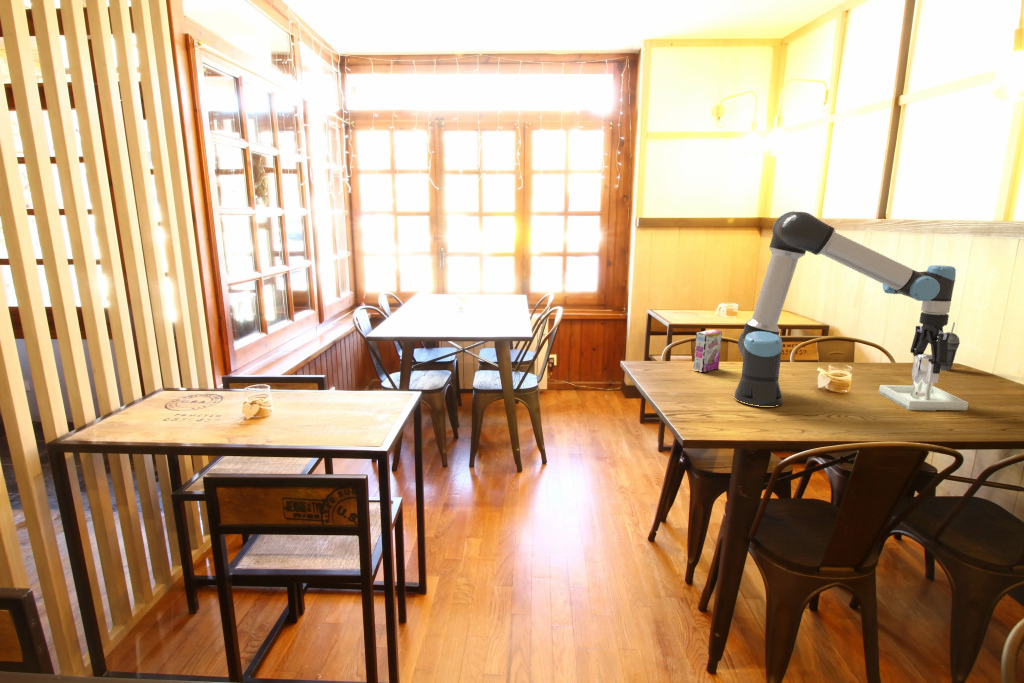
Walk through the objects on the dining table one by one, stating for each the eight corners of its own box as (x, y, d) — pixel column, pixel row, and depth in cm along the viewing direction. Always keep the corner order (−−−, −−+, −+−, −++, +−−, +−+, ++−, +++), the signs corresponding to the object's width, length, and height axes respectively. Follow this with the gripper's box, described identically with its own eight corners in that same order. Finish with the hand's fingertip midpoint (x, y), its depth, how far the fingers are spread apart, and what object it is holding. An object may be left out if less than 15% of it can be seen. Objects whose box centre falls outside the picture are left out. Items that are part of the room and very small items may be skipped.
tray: (908, 409, 184) (909, 401, 184) (878, 392, 202) (879, 384, 201) (966, 411, 183) (968, 402, 182) (931, 393, 200) (933, 385, 200)
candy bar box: (703, 373, 228) (706, 334, 224) (692, 371, 232) (695, 332, 228) (719, 369, 234) (722, 330, 231) (709, 366, 238) (712, 329, 235)
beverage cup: (945, 367, 235) (953, 320, 230) (959, 371, 228) (968, 323, 223) (928, 367, 234) (936, 320, 230) (942, 372, 227) (950, 323, 223)
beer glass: (937, 400, 191) (945, 357, 187) (924, 402, 188) (931, 359, 185) (916, 394, 197) (923, 352, 193) (903, 396, 194) (909, 354, 191)
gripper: (969, 318, 175) (957, 388, 180) (927, 307, 195) (917, 370, 200) (943, 318, 176) (932, 387, 181) (904, 307, 196) (895, 370, 201)
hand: (924, 378), depth 191 cm, fingers open, 8 cm apart
